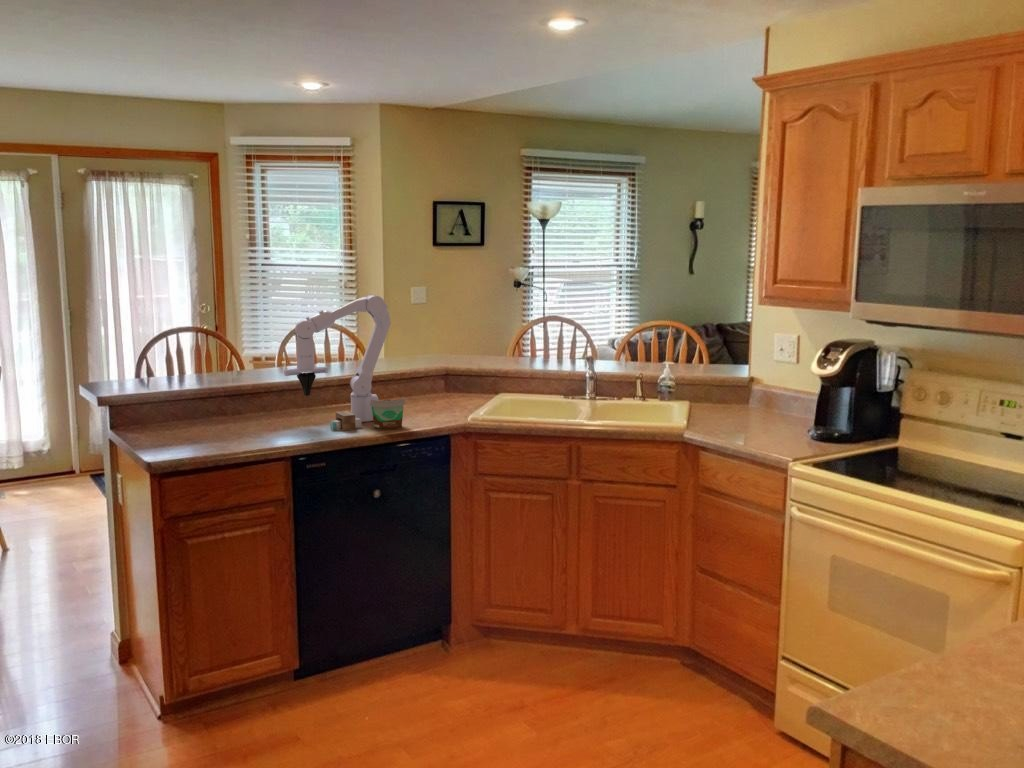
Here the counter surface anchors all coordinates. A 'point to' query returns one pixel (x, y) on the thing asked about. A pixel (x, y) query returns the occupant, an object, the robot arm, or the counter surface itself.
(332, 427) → the white teal bar
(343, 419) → the angled brown block
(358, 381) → the robot arm
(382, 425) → the food container
